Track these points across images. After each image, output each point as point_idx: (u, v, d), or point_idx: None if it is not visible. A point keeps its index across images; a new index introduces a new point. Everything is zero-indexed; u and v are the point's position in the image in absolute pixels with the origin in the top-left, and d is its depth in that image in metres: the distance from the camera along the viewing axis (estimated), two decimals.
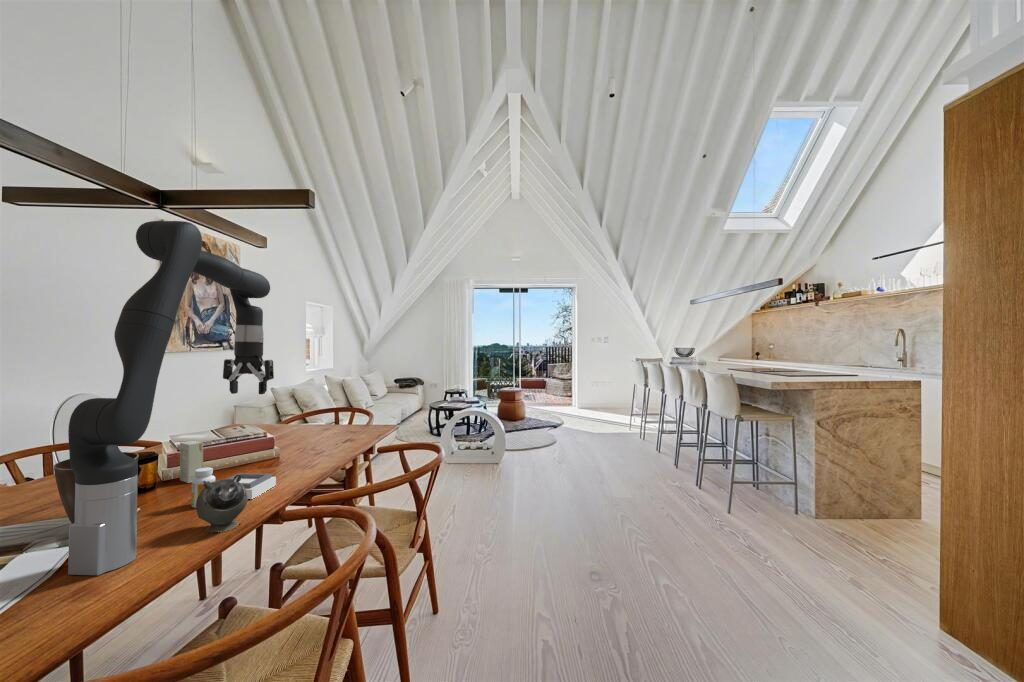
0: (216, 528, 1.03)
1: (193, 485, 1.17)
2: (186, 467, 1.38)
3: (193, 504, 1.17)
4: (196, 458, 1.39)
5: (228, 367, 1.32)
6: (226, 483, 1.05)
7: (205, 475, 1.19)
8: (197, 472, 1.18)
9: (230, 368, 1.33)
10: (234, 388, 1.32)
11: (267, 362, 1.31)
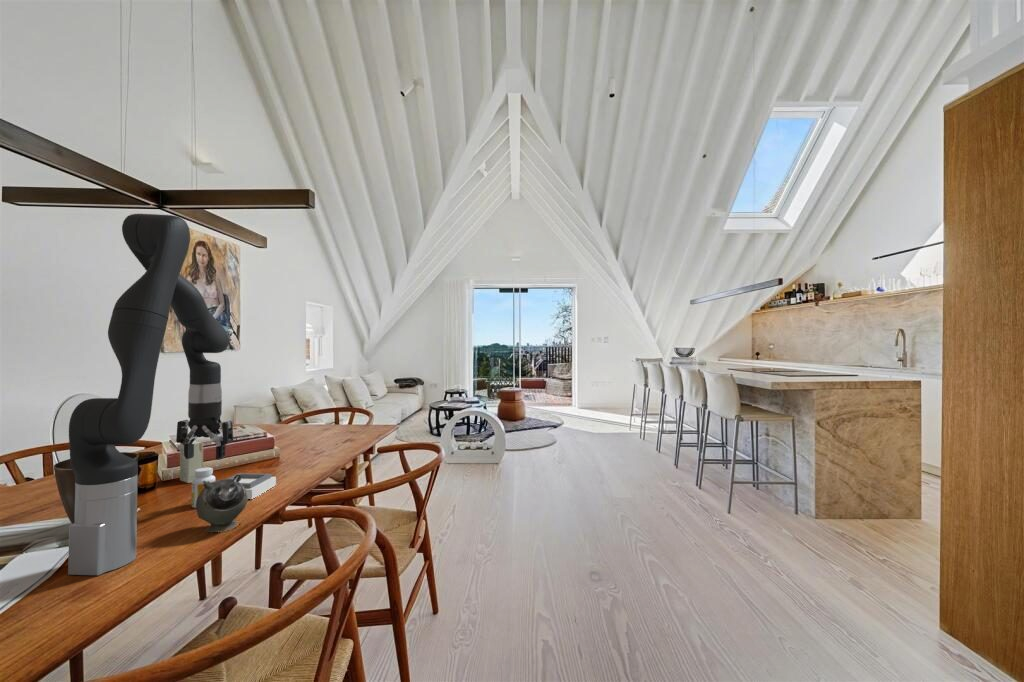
0: (216, 528, 1.03)
1: (193, 485, 1.17)
2: (186, 467, 1.38)
3: (193, 504, 1.17)
4: (196, 458, 1.39)
5: (182, 430, 1.19)
6: (226, 483, 1.05)
7: (205, 474, 1.19)
8: (197, 472, 1.18)
9: (185, 430, 1.20)
10: (189, 453, 1.20)
11: (225, 425, 1.19)
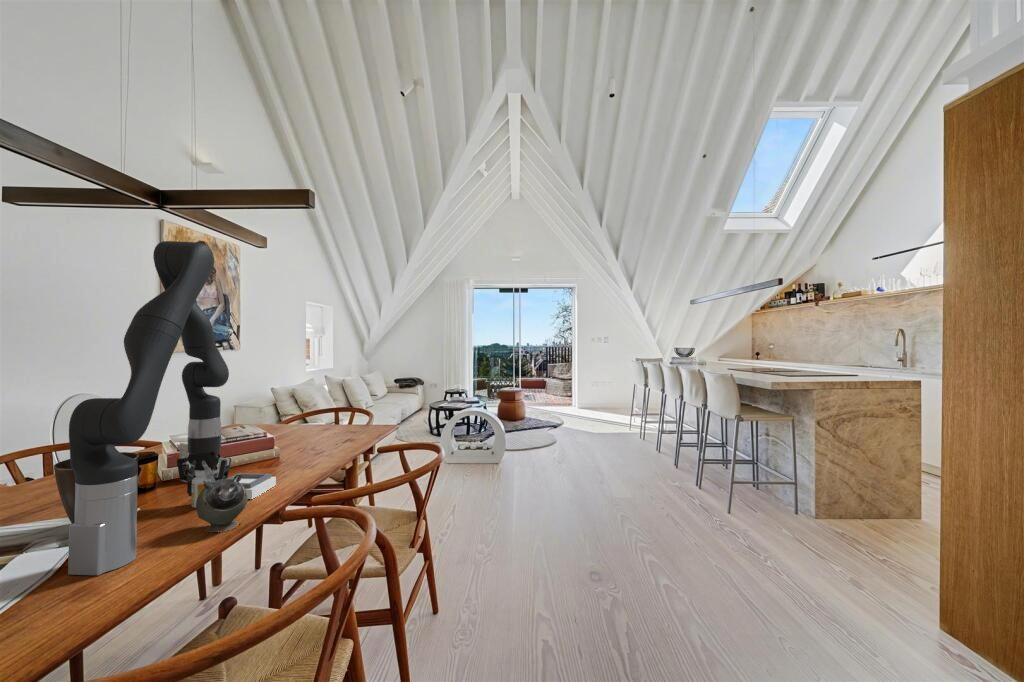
0: (216, 528, 1.03)
1: (193, 485, 1.17)
2: None
3: (193, 504, 1.17)
4: None
5: (183, 466, 1.19)
6: (226, 483, 1.05)
7: (205, 474, 1.19)
8: (197, 472, 1.18)
9: (186, 467, 1.20)
10: None
11: (224, 462, 1.19)
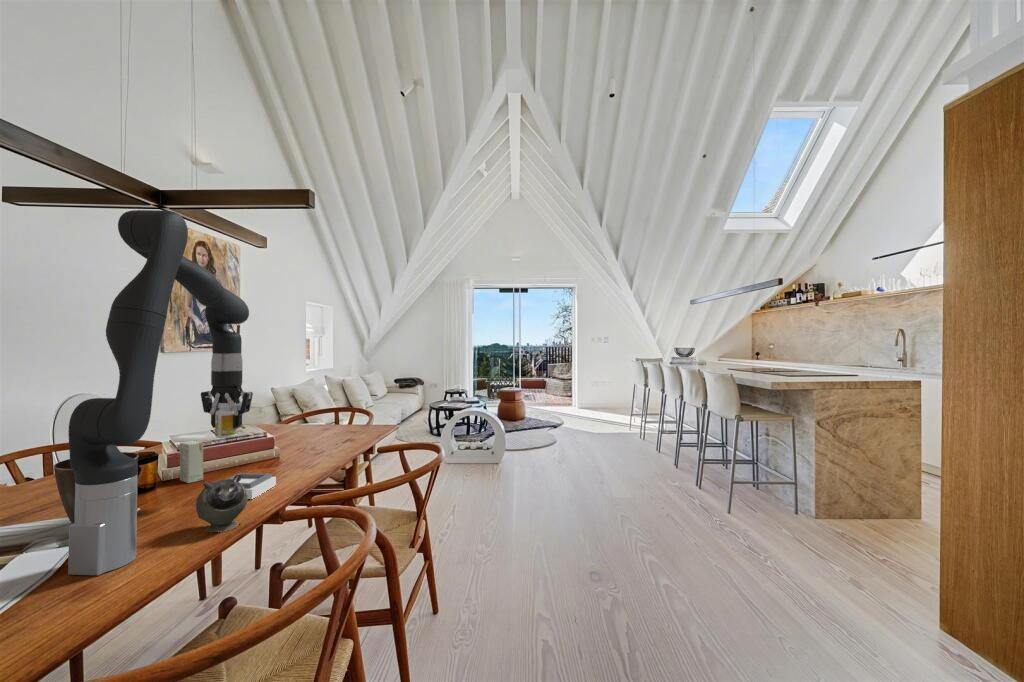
0: (216, 528, 1.03)
1: (217, 416, 1.23)
2: (186, 467, 1.38)
3: (217, 434, 1.23)
4: (196, 458, 1.39)
5: (207, 399, 1.25)
6: (226, 483, 1.05)
7: (228, 407, 1.24)
8: (220, 404, 1.23)
9: (209, 400, 1.26)
10: None
11: (246, 395, 1.24)
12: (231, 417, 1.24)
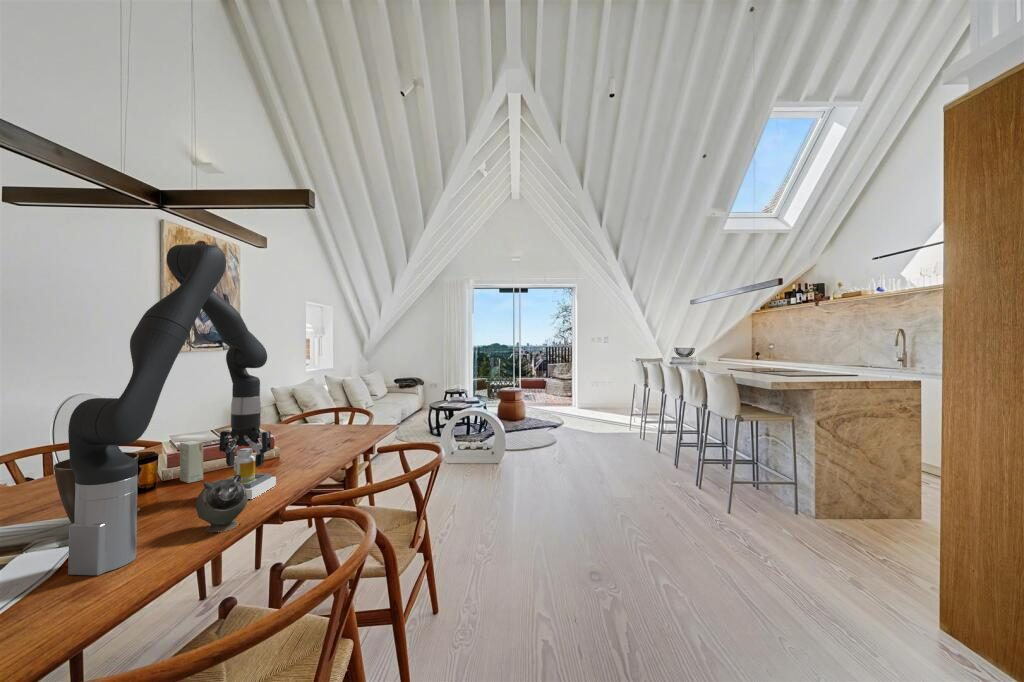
0: (216, 528, 1.03)
1: (235, 464, 1.27)
2: (186, 467, 1.38)
3: None
4: (196, 458, 1.39)
5: (224, 439, 1.29)
6: (226, 483, 1.05)
7: (246, 454, 1.28)
8: (239, 452, 1.28)
9: (227, 439, 1.30)
10: (231, 460, 1.29)
11: (264, 434, 1.28)
12: (249, 464, 1.28)
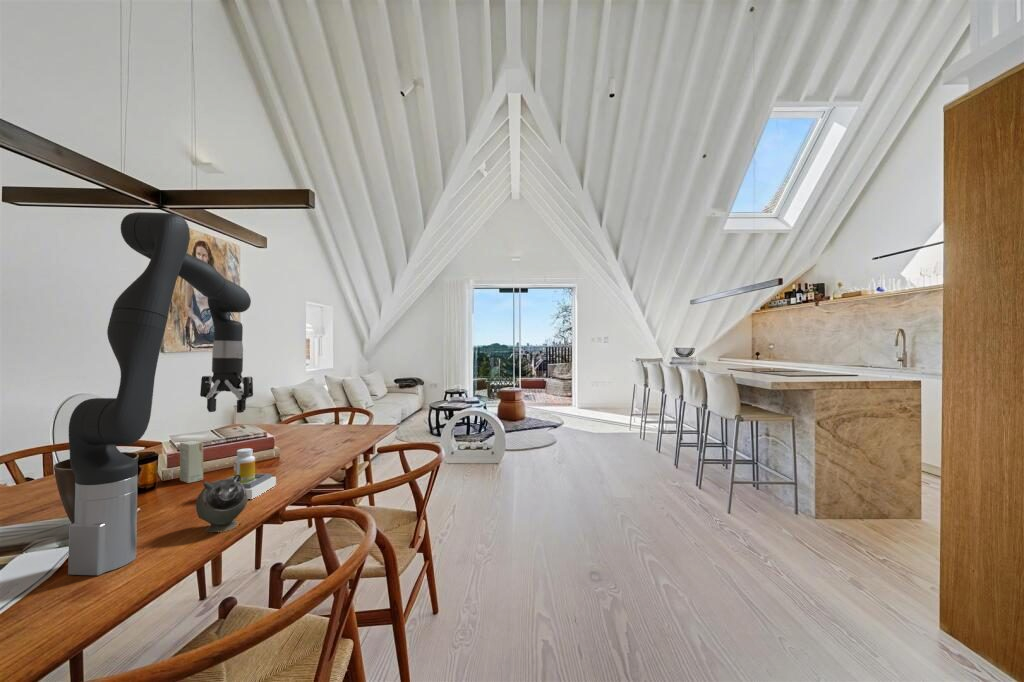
0: (216, 528, 1.03)
1: (235, 464, 1.27)
2: (186, 467, 1.38)
3: None
4: (196, 458, 1.39)
5: (206, 384, 1.27)
6: (226, 483, 1.05)
7: (246, 454, 1.28)
8: (239, 452, 1.28)
9: (208, 385, 1.28)
10: (212, 406, 1.27)
11: (246, 379, 1.26)
12: (249, 464, 1.28)
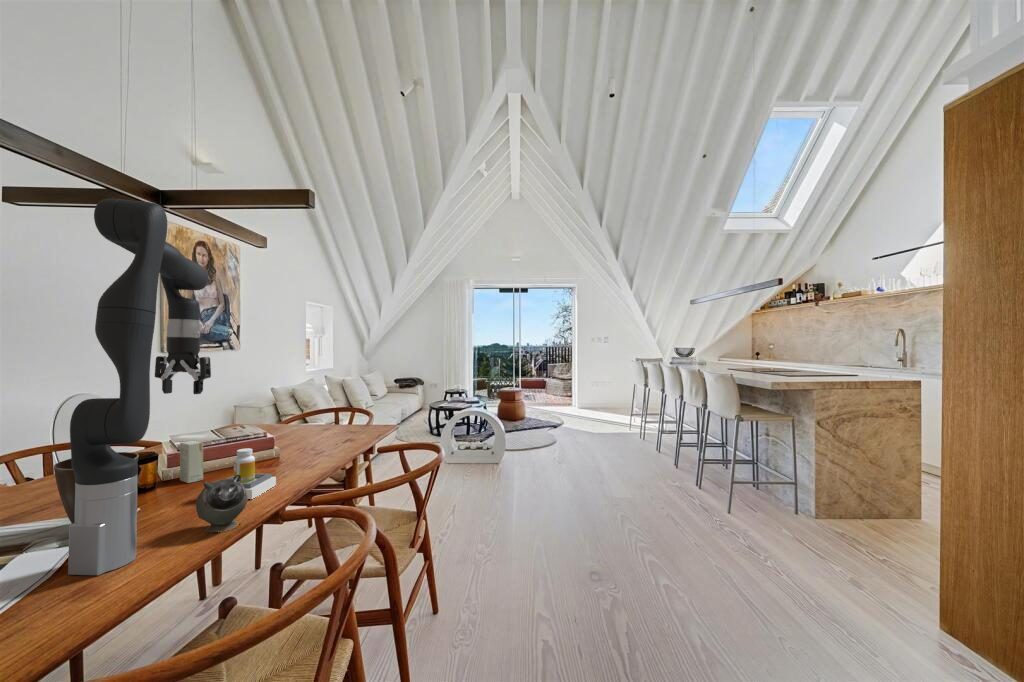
0: (216, 528, 1.03)
1: (235, 464, 1.27)
2: (186, 467, 1.38)
3: None
4: (196, 458, 1.39)
5: (160, 365, 1.22)
6: (226, 483, 1.05)
7: (246, 454, 1.28)
8: (239, 452, 1.28)
9: (163, 366, 1.23)
10: (167, 387, 1.22)
11: (202, 359, 1.21)
12: (249, 464, 1.28)
